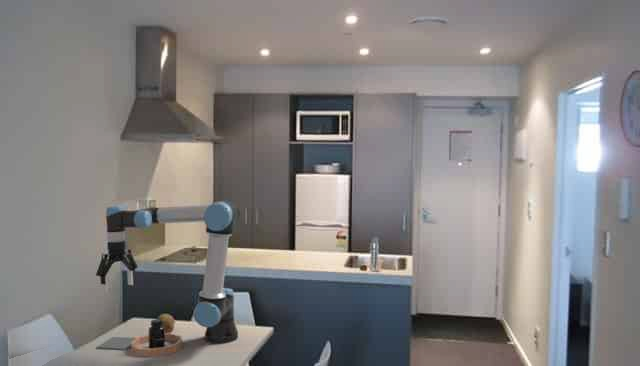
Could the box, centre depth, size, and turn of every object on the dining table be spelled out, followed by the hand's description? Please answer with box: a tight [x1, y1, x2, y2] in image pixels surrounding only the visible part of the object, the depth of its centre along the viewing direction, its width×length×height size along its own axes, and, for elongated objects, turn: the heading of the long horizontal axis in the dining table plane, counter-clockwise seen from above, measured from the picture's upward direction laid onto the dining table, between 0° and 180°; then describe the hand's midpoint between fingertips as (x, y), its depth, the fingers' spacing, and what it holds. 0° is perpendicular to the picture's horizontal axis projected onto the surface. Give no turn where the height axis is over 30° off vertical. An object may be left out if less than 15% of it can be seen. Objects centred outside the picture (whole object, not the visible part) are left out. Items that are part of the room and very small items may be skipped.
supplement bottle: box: [148, 318, 166, 349], centre depth 237 cm, size 7×7×12 cm
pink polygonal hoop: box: [131, 332, 183, 357], centre depth 237 cm, size 21×21×3 cm
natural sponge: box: [156, 313, 176, 333], centre depth 255 cm, size 9×9×10 cm
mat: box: [95, 336, 137, 351], centre depth 242 cm, size 14×14×1 cm
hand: (118, 288), depth 241 cm, fingers open, 13 cm apart
